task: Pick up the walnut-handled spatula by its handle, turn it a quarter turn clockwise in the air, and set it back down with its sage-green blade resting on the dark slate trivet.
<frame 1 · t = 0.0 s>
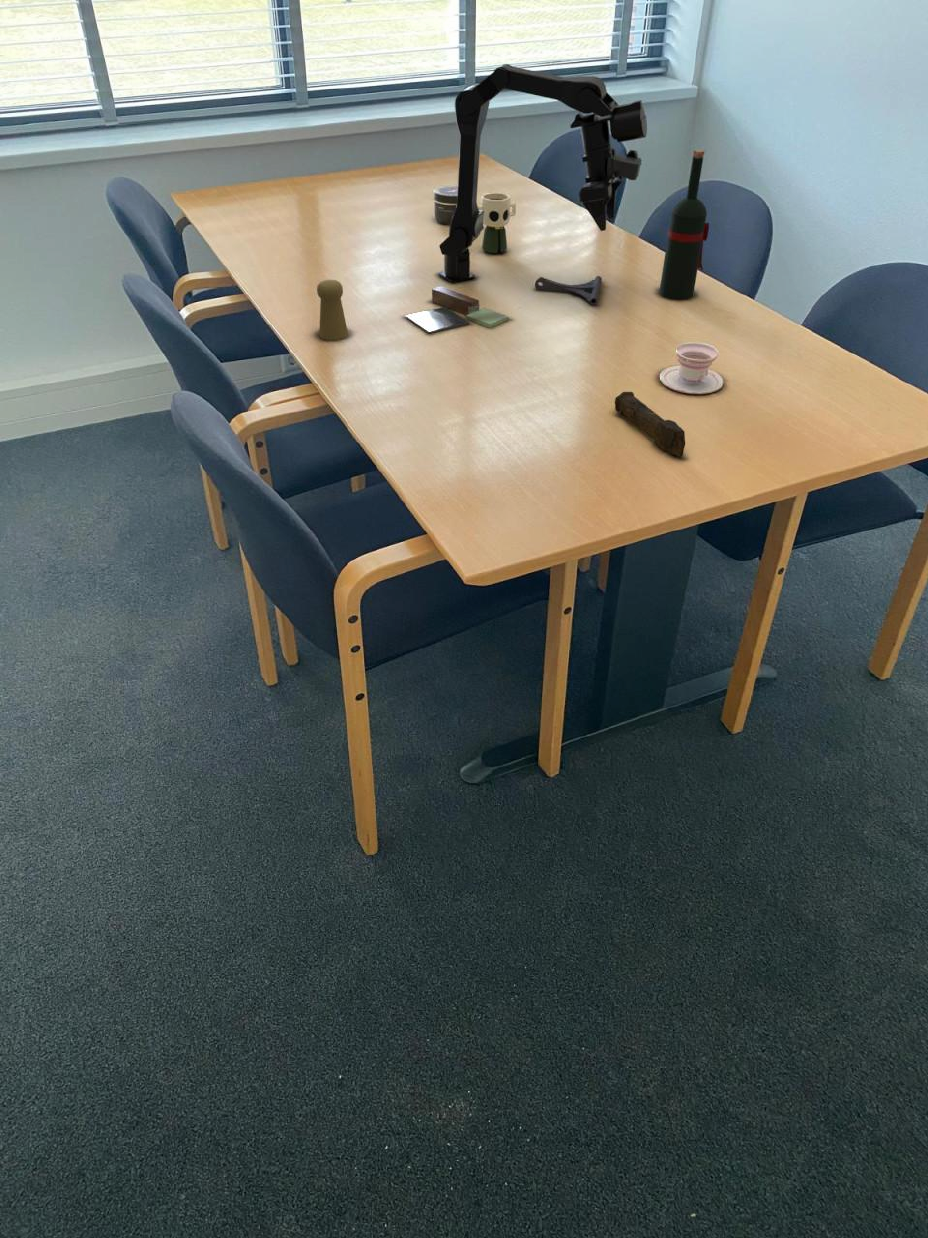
hand: (607, 224, 200), 15 cm above the table, tool pointing down, fingers open, 9 cm apart
spatula: (487, 319, 198), on the table
teacup: (690, 382, 176), on the table
bracket: (567, 292, 211), on the table
jar: (452, 220, 252), on the table
olive brown pawn: (333, 335, 191), on the table
trivet: (437, 320, 197), on the table
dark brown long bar: (652, 434, 160), on the table
wine bottle: (680, 293, 211), on the table
character mug: (494, 251, 232), on the table
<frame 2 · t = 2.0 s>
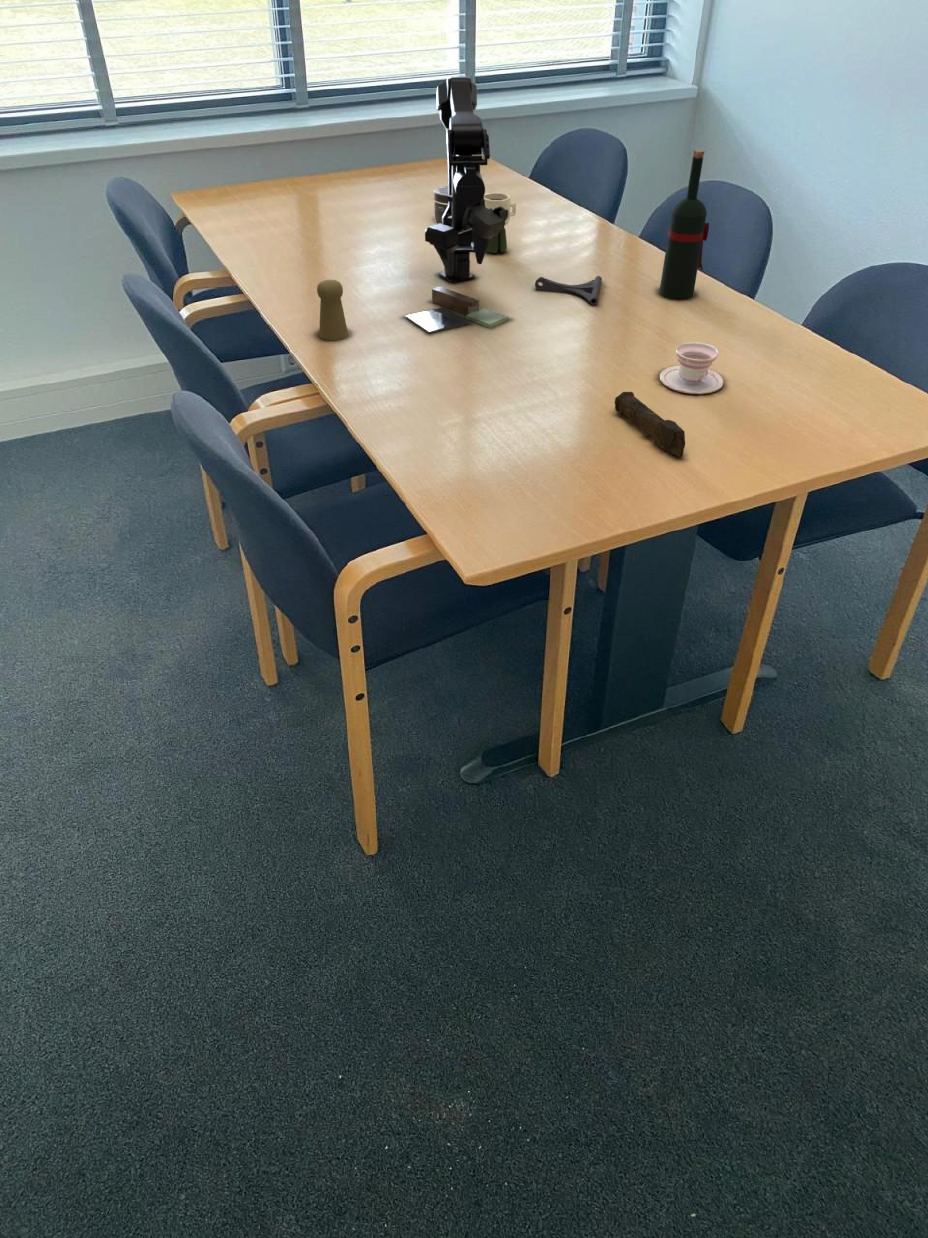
hand: (464, 268, 196), 9 cm above the table, tool pointing down, fingers open, 9 cm apart
nothing on the table moved.
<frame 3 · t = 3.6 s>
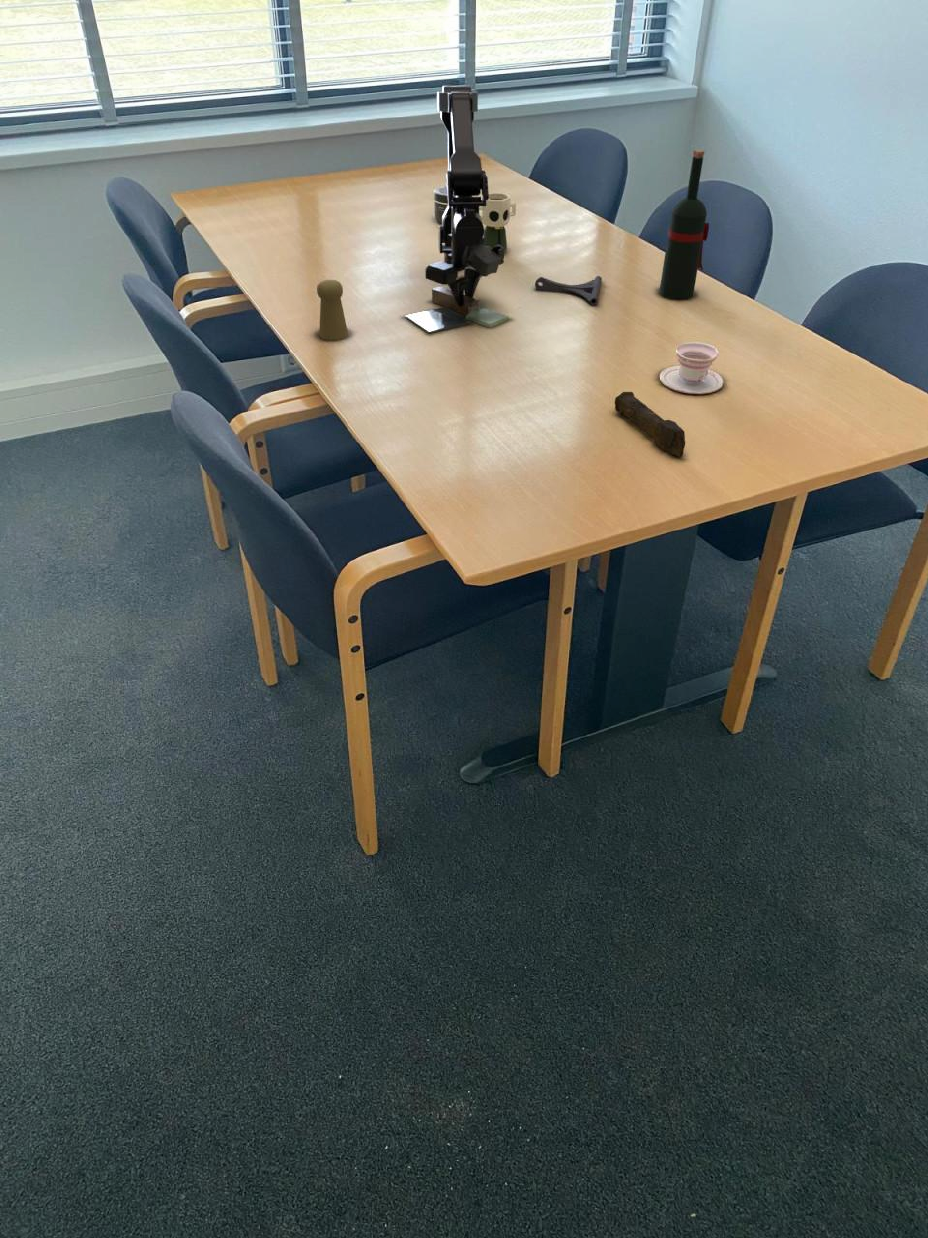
hand: (464, 304, 200), 2 cm above the table, tool pointing down, fingers closed on spatula, 2 cm apart
spatula: (487, 319, 198), on the table, touching gripper
everything else where it was.
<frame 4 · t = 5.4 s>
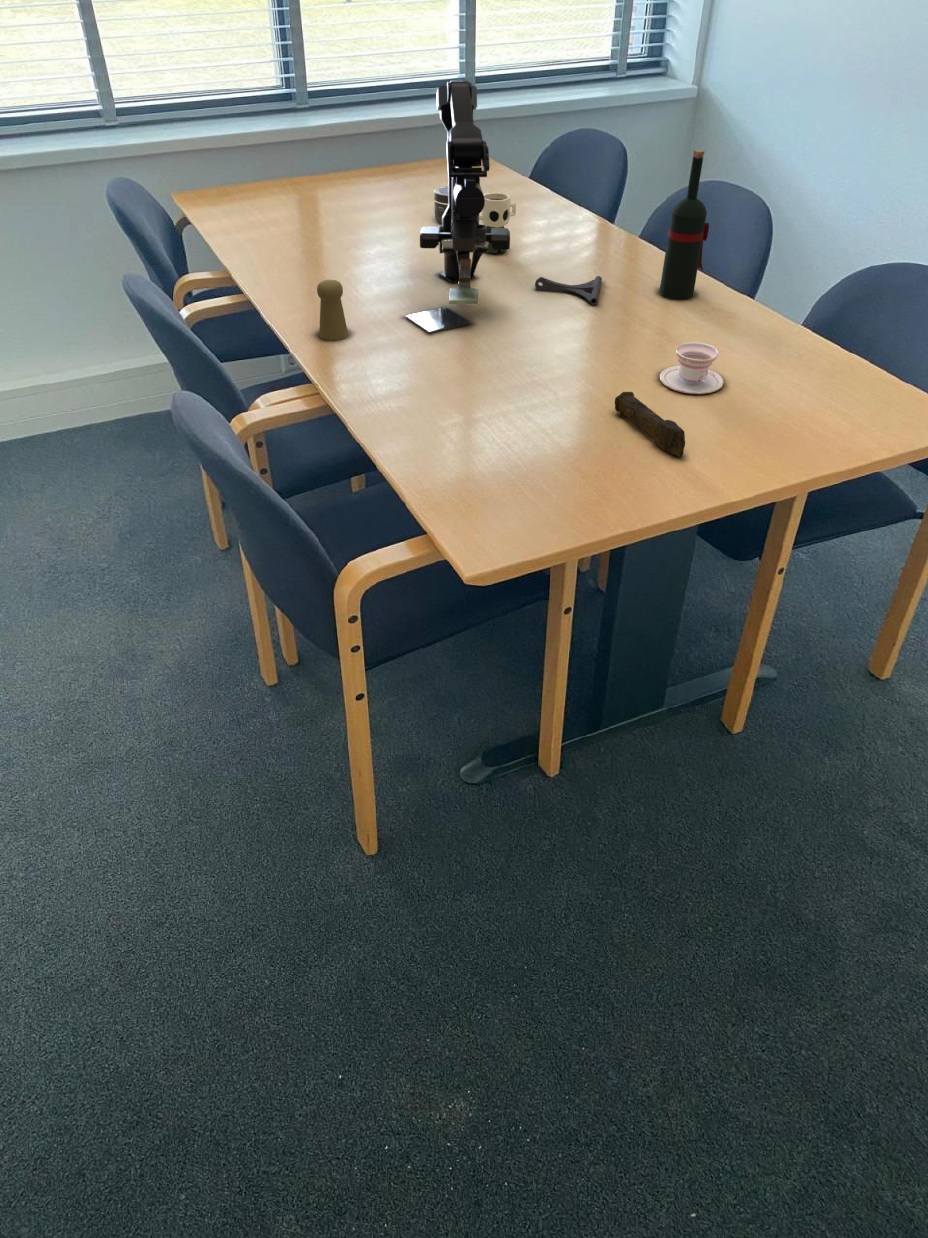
hand: (464, 279, 197), 7 cm above the table, tool pointing down, fingers closed on spatula, 2 cm apart
spatula: (464, 297, 193), point 5 cm above the table, touching gripper
everything else where it was.
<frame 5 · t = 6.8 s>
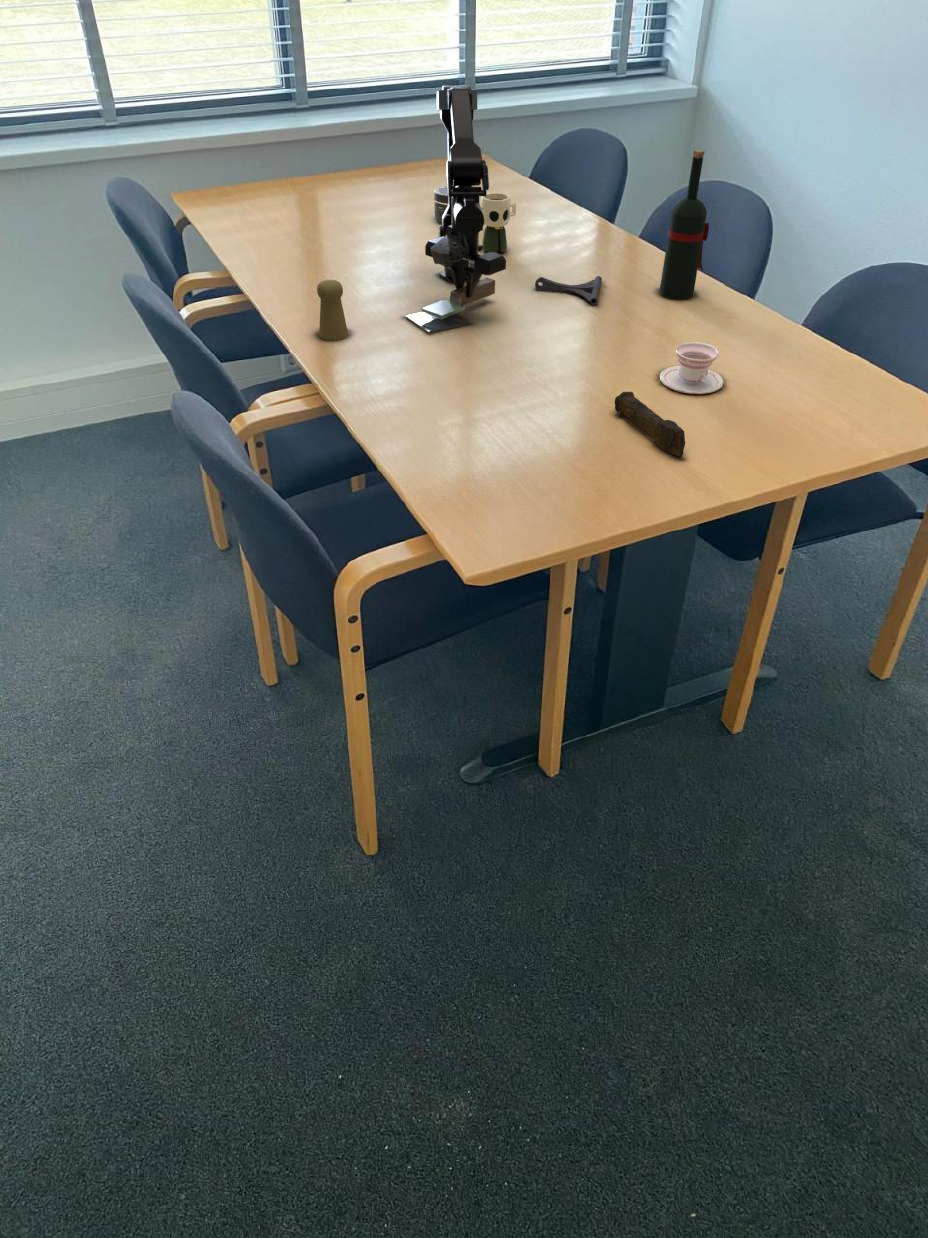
hand: (464, 295, 199), 3 cm above the table, tool pointing down, fingers closed on spatula, 2 cm apart
spatula: (442, 310, 196), point 2 cm above the table, touching gripper
everything else where it was.
when the fingers open (2 cm above the table, at t = 7.4 s): spatula stays where it is, resting on trivet.
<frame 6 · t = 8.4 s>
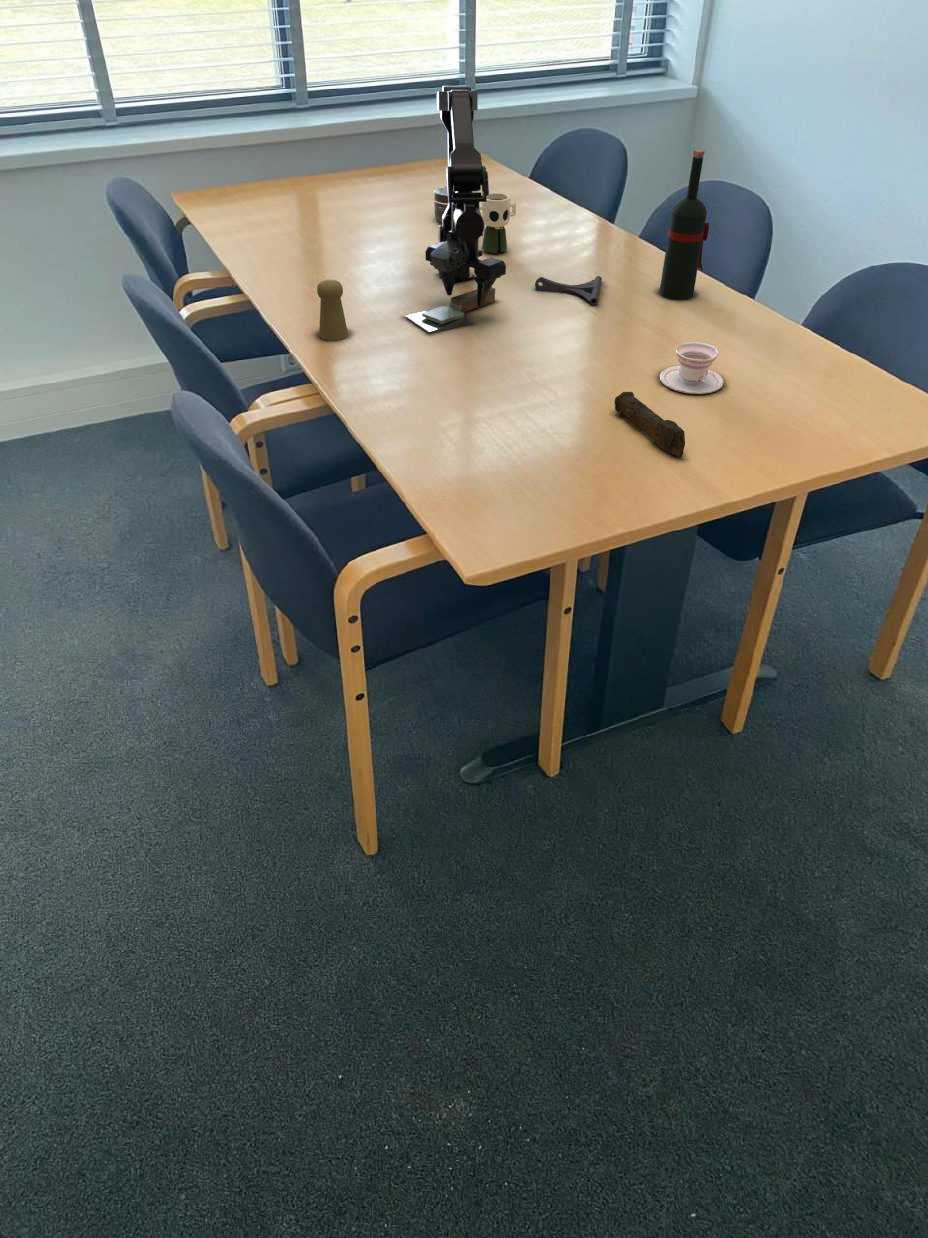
hand: (464, 300, 200), 2 cm above the table, tool pointing down, fingers open, 9 cm apart
spatula: (443, 316, 197), point 1 cm above the table, touching trivet
everything else where it was.
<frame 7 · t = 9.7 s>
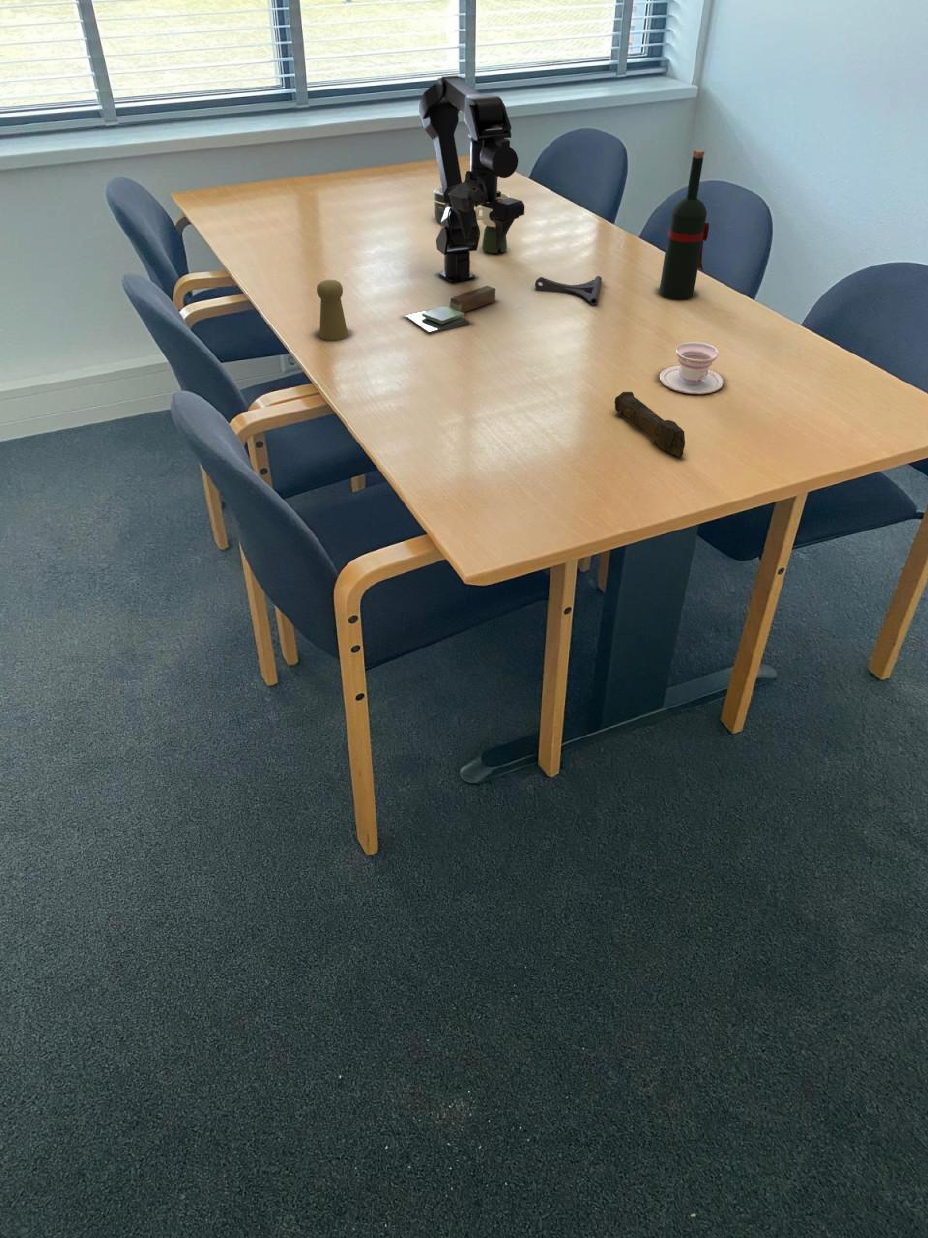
hand: (482, 243, 200), 12 cm above the table, tool pointing down, fingers open, 9 cm apart
nothing on the table moved.
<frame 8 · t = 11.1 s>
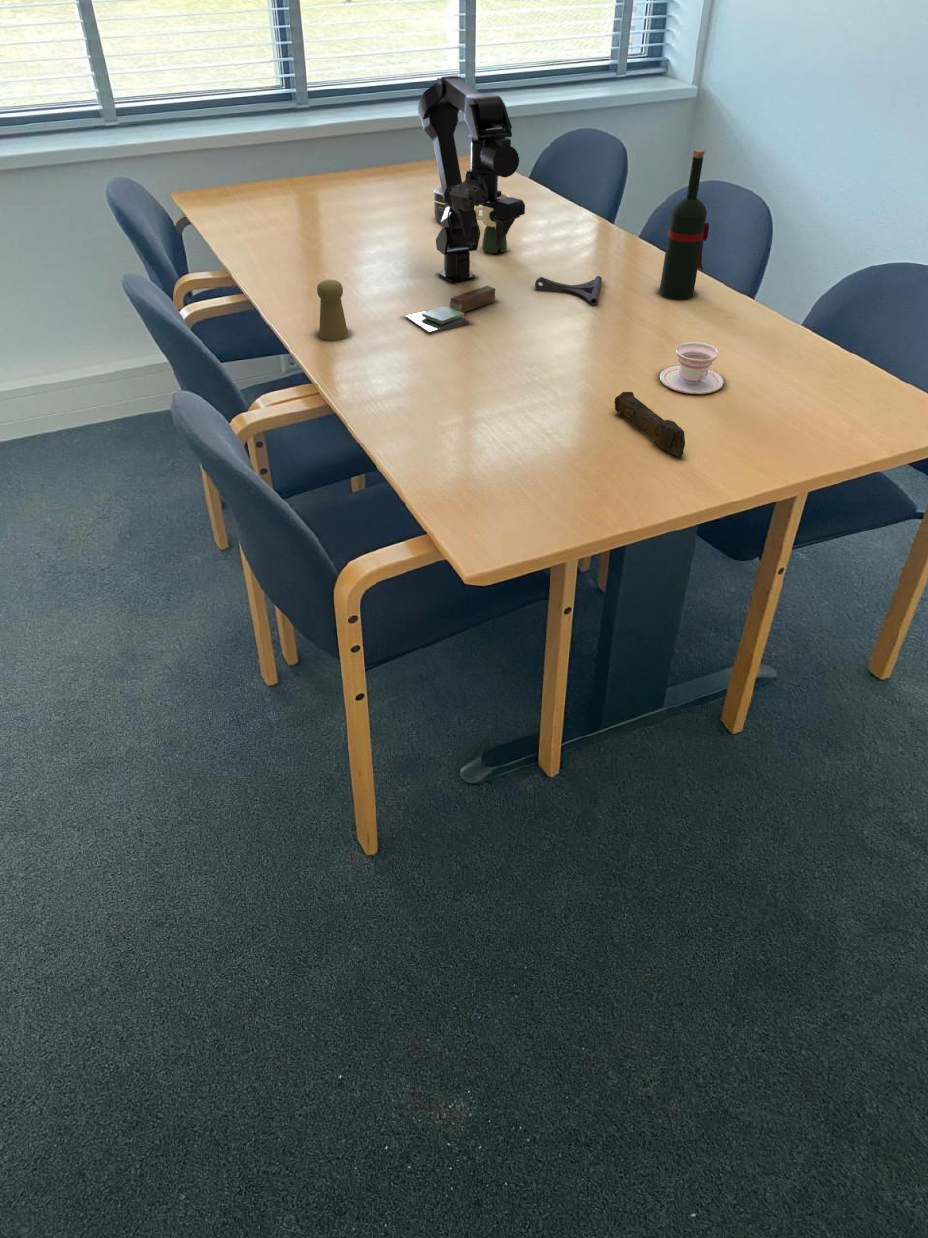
hand: (482, 242, 200), 12 cm above the table, tool pointing down, fingers open, 9 cm apart
nothing on the table moved.
at the end: spatula 1.4 cm from the trivet (horizontally); spatula tilted 2°; the gripper is holding nothing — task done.
